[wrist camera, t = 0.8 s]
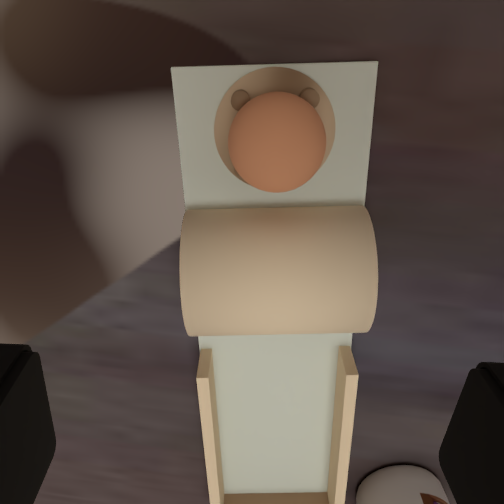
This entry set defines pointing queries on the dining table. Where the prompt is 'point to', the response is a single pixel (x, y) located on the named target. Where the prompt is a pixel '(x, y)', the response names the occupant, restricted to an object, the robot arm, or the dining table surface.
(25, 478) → the robot arm
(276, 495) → the lane
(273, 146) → the ball
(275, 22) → the dining table surface
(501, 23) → the dining table surface
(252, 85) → the tee
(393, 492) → the milk bottle
